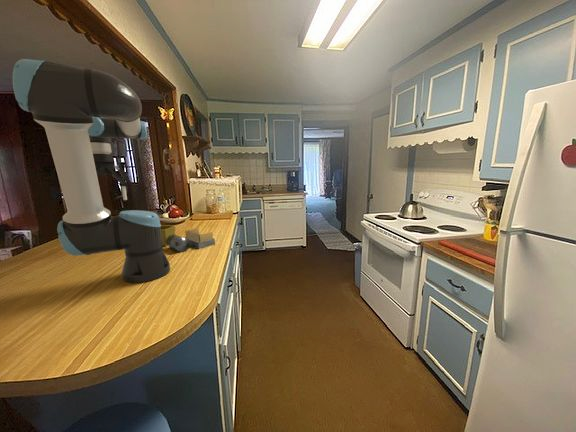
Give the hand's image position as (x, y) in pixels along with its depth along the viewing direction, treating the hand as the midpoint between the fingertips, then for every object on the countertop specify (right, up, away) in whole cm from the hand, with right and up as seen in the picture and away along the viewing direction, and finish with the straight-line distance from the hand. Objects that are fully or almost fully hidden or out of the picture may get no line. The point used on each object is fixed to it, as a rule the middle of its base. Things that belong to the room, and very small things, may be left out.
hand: (108, 201), depth 107 cm
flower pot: (+19, -21, +12) cm, 31 cm away
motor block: (+34, -22, +9) cm, 41 cm away
